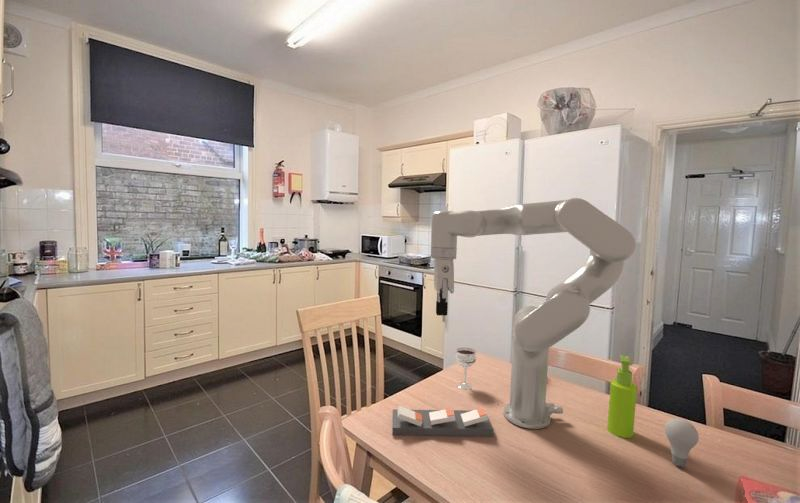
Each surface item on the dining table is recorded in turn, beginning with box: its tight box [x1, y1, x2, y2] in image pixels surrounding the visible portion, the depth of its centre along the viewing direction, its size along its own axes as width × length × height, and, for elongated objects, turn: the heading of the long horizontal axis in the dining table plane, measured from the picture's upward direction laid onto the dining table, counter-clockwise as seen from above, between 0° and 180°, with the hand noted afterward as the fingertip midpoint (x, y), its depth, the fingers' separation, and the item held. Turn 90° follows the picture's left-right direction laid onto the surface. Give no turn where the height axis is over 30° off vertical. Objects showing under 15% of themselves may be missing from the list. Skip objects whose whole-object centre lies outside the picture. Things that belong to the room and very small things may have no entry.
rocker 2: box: [461, 407, 489, 426], centre depth 97 cm, size 6×4×1 cm, turn 90°
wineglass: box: [455, 347, 477, 390], centre depth 122 cm, size 7×7×12 cm
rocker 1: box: [397, 405, 422, 427], centre depth 96 cm, size 6×4×1 cm, turn 92°
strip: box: [391, 408, 494, 437], centre depth 98 cm, size 26×9×3 cm, turn 91°
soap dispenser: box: [607, 354, 638, 439], centre depth 97 cm, size 6×7×20 cm
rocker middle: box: [429, 407, 455, 425], centre depth 96 cm, size 6×4×1 cm, turn 90°
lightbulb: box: [664, 417, 700, 468], centre depth 84 cm, size 6×6×11 cm
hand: (441, 314), depth 109 cm, fingers closed
